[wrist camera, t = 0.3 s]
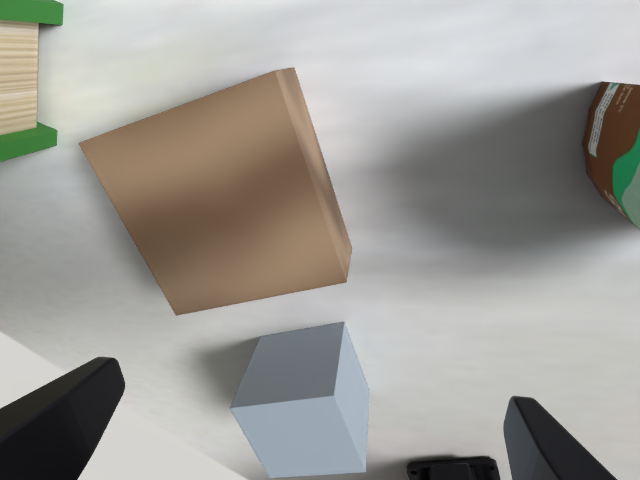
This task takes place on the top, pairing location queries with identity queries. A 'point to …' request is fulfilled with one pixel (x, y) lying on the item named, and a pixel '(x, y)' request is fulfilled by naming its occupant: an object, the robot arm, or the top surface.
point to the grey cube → (305, 403)
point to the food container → (615, 147)
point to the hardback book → (22, 76)
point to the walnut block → (227, 195)
